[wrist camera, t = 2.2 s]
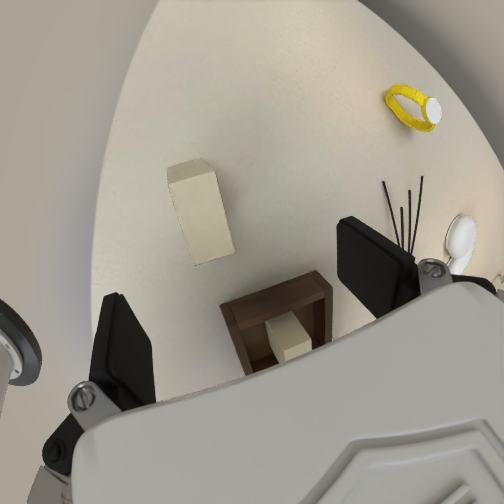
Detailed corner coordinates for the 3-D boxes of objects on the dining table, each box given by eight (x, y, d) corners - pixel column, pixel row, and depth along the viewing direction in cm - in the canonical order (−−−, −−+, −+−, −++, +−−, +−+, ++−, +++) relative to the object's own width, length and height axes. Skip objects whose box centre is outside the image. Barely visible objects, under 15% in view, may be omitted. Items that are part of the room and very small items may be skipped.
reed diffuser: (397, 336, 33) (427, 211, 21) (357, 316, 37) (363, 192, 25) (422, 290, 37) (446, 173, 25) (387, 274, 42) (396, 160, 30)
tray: (264, 422, 45) (271, 437, 42) (219, 304, 28) (227, 327, 25) (318, 399, 47) (326, 413, 44) (316, 269, 30) (332, 286, 27)
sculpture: (473, 229, 40) (502, 247, 34) (436, 293, 44) (463, 315, 38) (457, 201, 35) (494, 220, 28) (415, 278, 39) (448, 305, 32)
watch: (411, 116, 25) (450, 123, 20) (401, 132, 26) (441, 141, 21) (384, 79, 22) (426, 80, 17) (373, 96, 23) (416, 98, 18)
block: (270, 346, 33) (288, 381, 28) (262, 313, 30) (283, 351, 25) (291, 337, 34) (312, 371, 29) (287, 303, 31) (311, 339, 25)
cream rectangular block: (185, 232, 24) (194, 266, 19) (166, 168, 21) (167, 184, 16) (218, 222, 24) (235, 253, 19) (201, 157, 21) (215, 170, 16)
